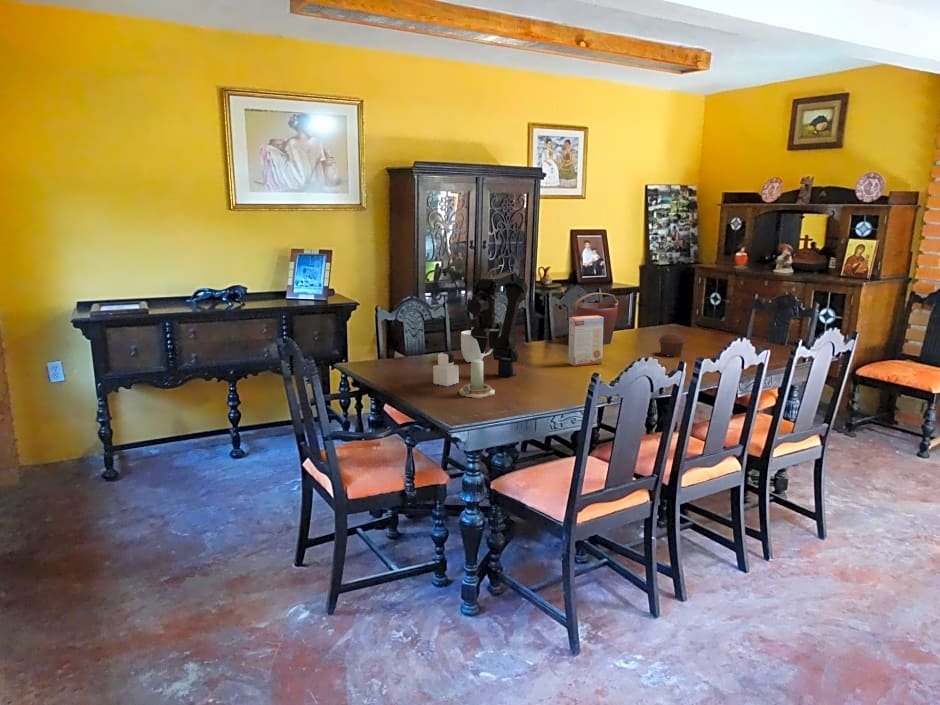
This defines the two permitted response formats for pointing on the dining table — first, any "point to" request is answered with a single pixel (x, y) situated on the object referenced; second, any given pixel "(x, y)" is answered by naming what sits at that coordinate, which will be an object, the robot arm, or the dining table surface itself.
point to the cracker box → (585, 340)
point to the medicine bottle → (446, 370)
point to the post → (476, 374)
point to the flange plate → (477, 391)
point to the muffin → (671, 344)
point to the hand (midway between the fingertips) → (486, 351)
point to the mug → (471, 347)
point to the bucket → (599, 313)
